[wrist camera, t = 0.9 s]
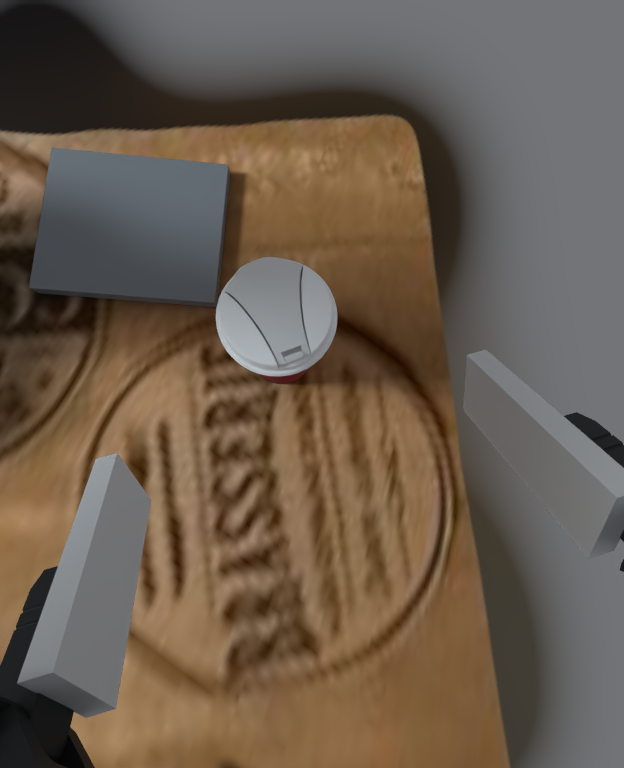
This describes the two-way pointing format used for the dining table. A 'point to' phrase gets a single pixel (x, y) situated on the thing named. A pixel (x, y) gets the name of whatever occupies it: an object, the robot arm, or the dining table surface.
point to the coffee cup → (276, 318)
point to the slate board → (131, 228)
